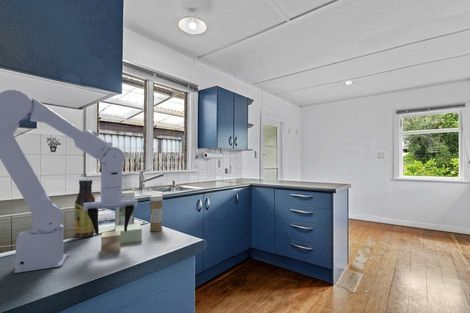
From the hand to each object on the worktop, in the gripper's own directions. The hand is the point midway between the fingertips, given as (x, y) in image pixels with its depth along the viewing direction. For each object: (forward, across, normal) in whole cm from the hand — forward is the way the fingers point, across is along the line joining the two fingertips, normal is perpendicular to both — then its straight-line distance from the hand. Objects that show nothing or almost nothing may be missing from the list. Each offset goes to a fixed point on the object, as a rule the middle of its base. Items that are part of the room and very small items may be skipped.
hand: (111, 232), depth 75 cm
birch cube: (+6, 0, 0) cm, 6 cm away
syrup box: (+6, +4, +24) cm, 25 cm away
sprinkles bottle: (+6, +15, +16) cm, 23 cm away
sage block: (+5, +5, +9) cm, 12 cm away
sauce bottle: (+6, -9, +19) cm, 22 cm away
